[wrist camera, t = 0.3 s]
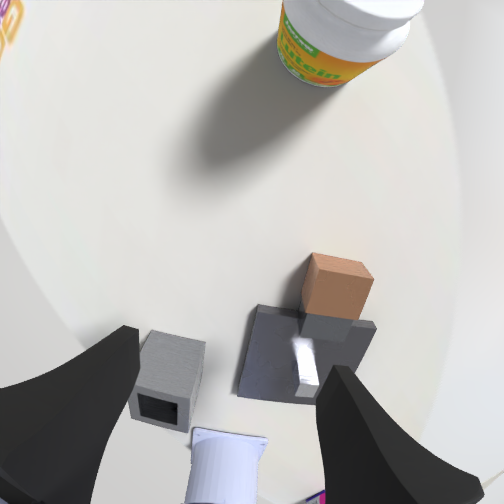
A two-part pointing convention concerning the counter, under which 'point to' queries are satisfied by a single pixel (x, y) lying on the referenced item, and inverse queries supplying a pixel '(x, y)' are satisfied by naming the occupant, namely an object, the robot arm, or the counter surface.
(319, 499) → the supplement box
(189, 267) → the counter surface
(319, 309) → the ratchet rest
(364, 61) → the supplement bottle
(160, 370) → the hollow square tube
